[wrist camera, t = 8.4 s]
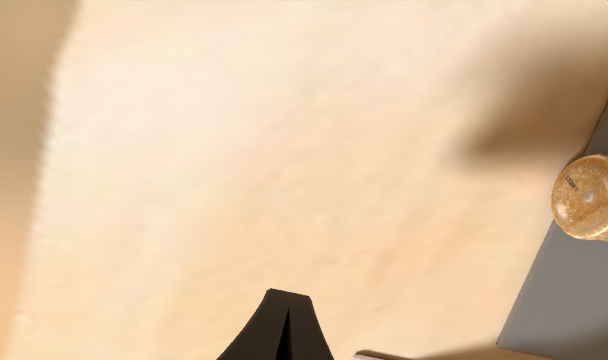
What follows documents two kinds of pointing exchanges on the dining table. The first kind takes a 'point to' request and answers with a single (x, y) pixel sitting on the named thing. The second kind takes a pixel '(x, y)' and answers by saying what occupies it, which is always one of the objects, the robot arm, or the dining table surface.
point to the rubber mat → (564, 292)
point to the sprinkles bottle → (583, 198)
